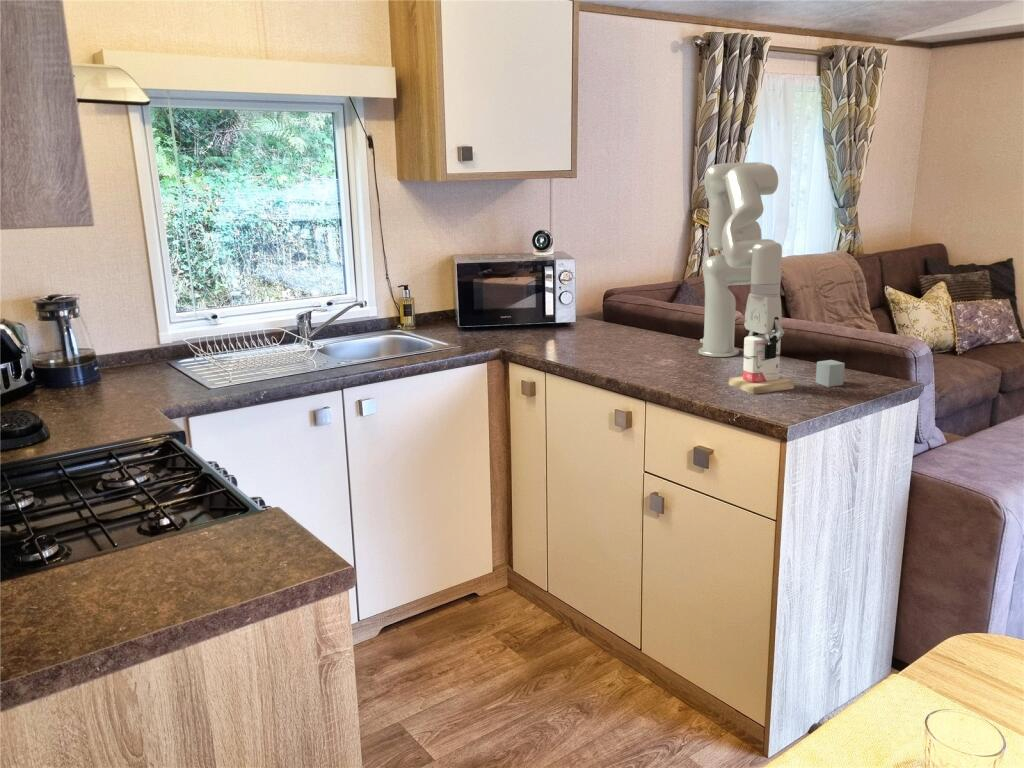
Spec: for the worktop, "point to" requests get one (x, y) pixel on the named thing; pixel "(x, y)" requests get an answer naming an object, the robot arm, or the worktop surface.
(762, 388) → the oak slab
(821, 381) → the light gray block
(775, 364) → the ink box
